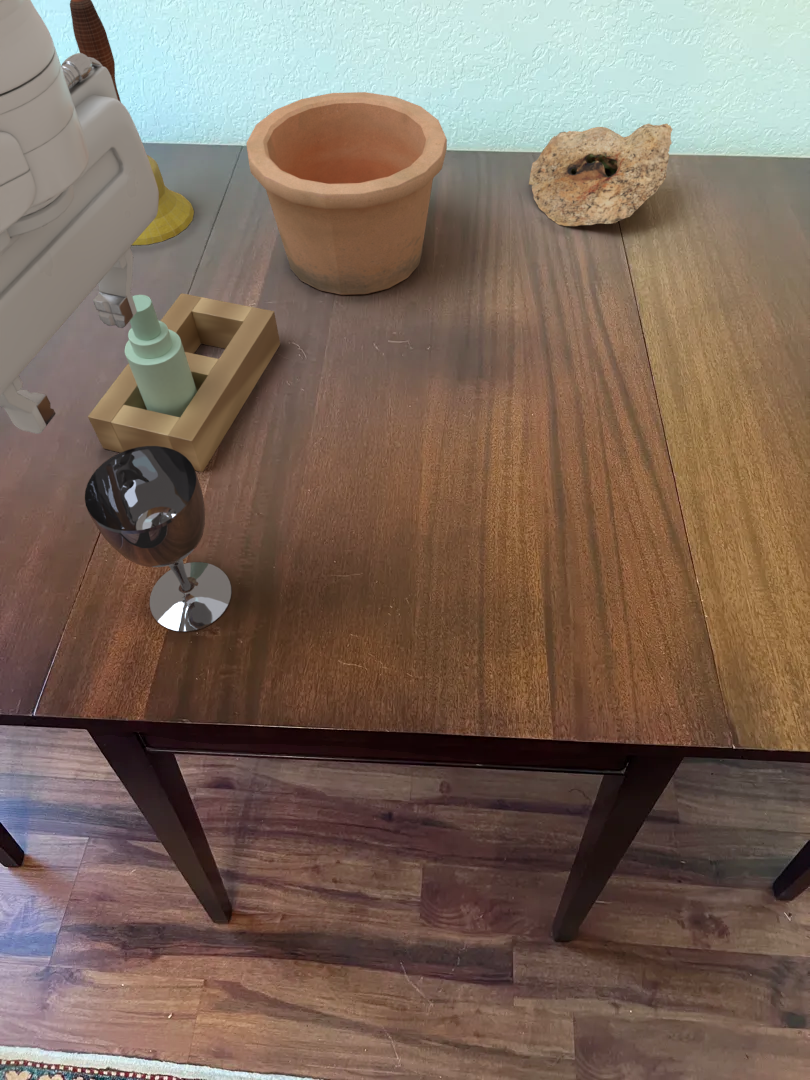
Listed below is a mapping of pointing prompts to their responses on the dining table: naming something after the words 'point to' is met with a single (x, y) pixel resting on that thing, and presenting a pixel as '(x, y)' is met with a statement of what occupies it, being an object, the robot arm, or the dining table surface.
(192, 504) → the wine glass
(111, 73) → the handbell
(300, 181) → the pottery
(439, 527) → the dining table surface
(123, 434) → the hollow wooden block
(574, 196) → the rough tan rock
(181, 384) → the bottle
